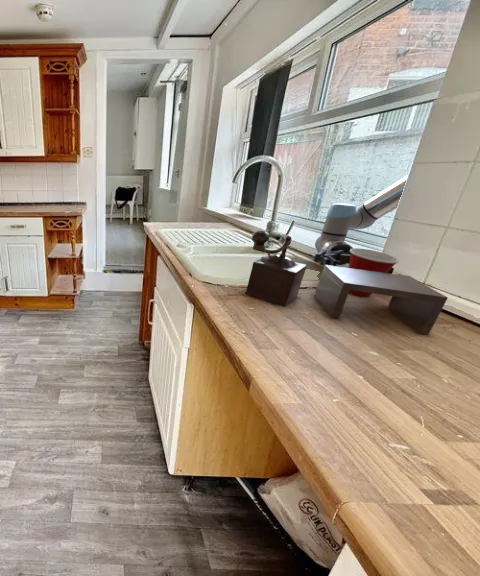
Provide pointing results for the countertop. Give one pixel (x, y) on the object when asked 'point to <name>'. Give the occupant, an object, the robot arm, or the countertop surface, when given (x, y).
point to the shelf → (404, 290)
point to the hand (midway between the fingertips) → (361, 269)
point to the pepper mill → (274, 273)
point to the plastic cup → (370, 263)
